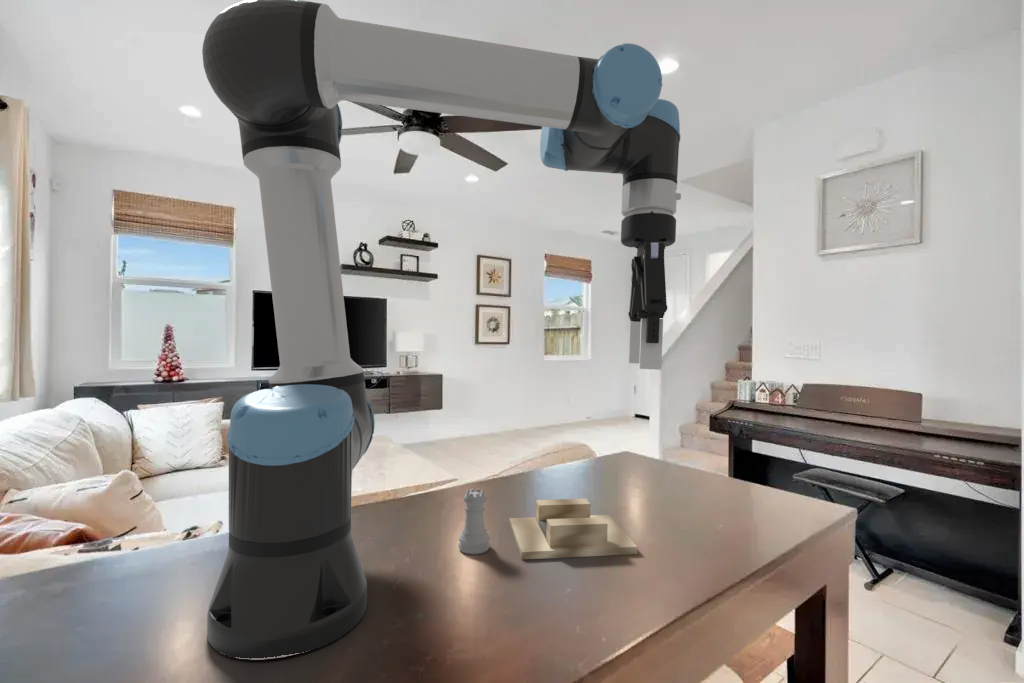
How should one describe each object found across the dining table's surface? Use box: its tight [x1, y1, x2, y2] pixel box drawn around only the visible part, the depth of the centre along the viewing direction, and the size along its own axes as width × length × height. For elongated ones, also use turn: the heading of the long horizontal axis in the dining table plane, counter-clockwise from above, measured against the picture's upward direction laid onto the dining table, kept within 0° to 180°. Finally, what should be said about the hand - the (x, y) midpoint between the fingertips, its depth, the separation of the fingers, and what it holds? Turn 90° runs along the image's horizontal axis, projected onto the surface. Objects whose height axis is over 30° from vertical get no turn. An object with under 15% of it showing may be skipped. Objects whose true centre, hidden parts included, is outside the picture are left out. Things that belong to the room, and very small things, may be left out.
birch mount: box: [508, 498, 638, 561], centre depth 73 cm, size 16×12×4 cm
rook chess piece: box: [457, 487, 491, 556], centre depth 69 cm, size 4×4×8 cm
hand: (643, 366), depth 71 cm, fingers open, 13 cm apart
